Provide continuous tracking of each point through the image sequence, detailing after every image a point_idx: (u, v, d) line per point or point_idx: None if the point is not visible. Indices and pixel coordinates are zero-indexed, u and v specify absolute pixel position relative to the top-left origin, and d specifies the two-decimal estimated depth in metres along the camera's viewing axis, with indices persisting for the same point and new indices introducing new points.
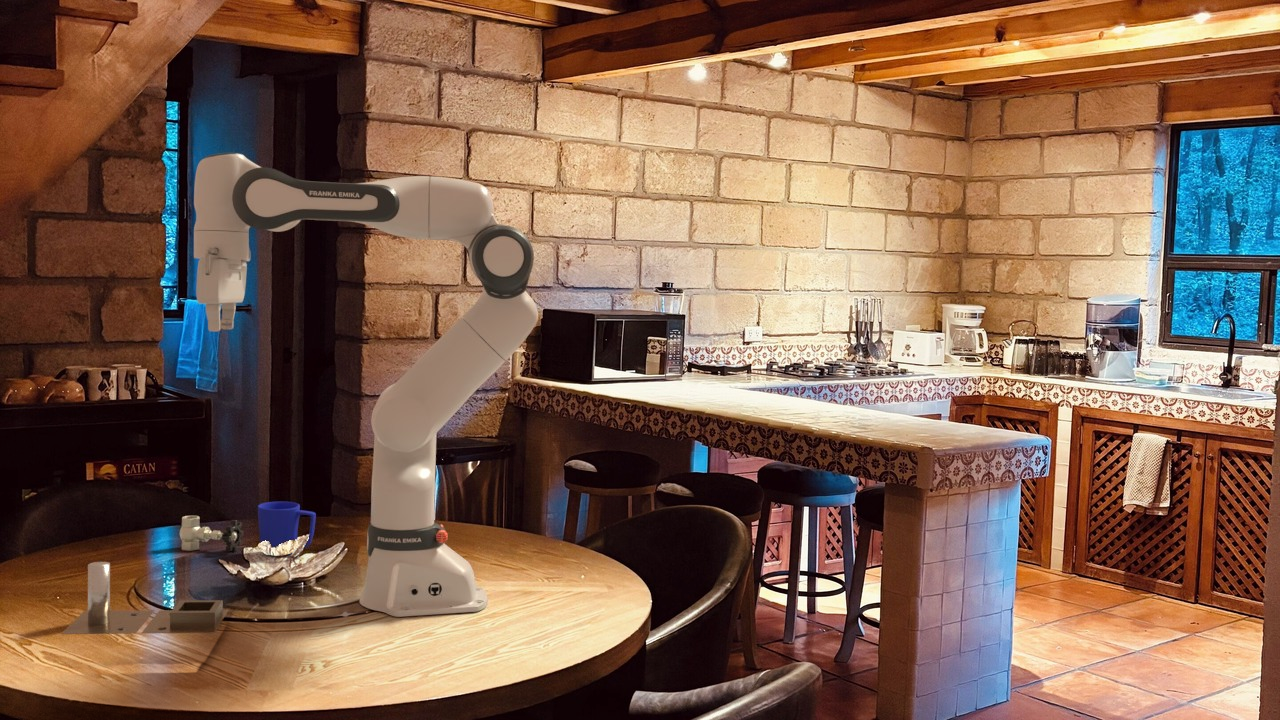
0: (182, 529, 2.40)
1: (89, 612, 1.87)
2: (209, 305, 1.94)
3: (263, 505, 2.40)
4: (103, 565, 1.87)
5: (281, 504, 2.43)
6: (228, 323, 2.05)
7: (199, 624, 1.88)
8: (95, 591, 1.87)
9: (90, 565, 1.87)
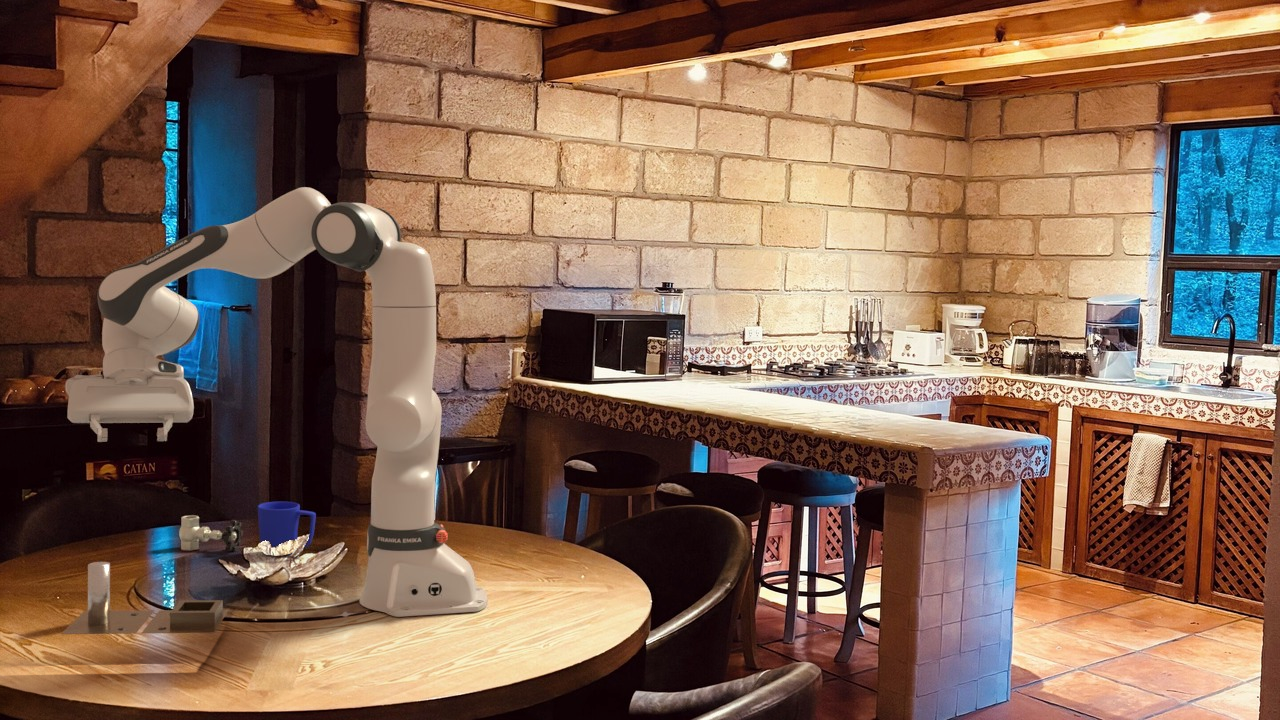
0: (182, 529, 2.40)
1: (89, 612, 1.87)
2: (90, 420, 2.01)
3: (263, 505, 2.40)
4: (103, 565, 1.87)
5: (281, 504, 2.43)
6: (158, 433, 2.04)
7: (199, 624, 1.88)
8: (95, 591, 1.87)
9: (90, 565, 1.87)
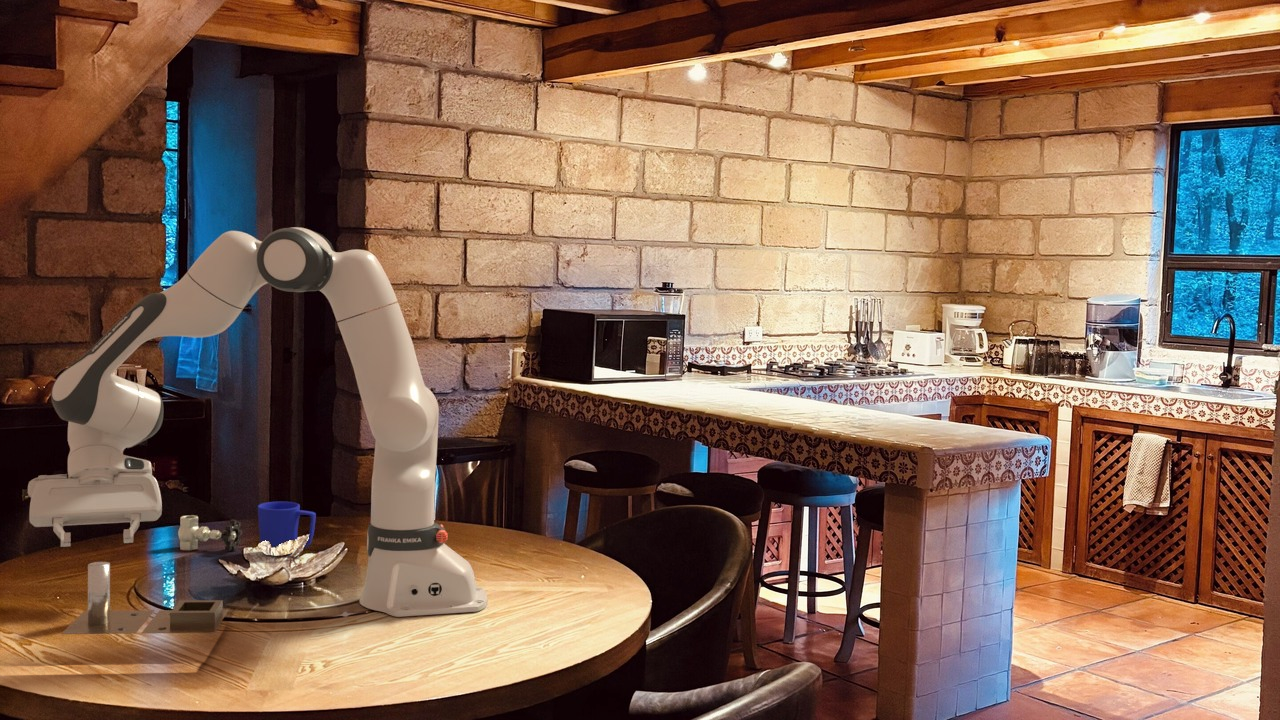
0: (181, 529, 2.40)
1: (89, 612, 1.87)
2: None
3: (263, 505, 2.40)
4: (103, 565, 1.87)
5: (281, 504, 2.43)
6: (124, 534, 1.96)
7: (199, 624, 1.88)
8: (95, 591, 1.87)
9: (90, 565, 1.87)
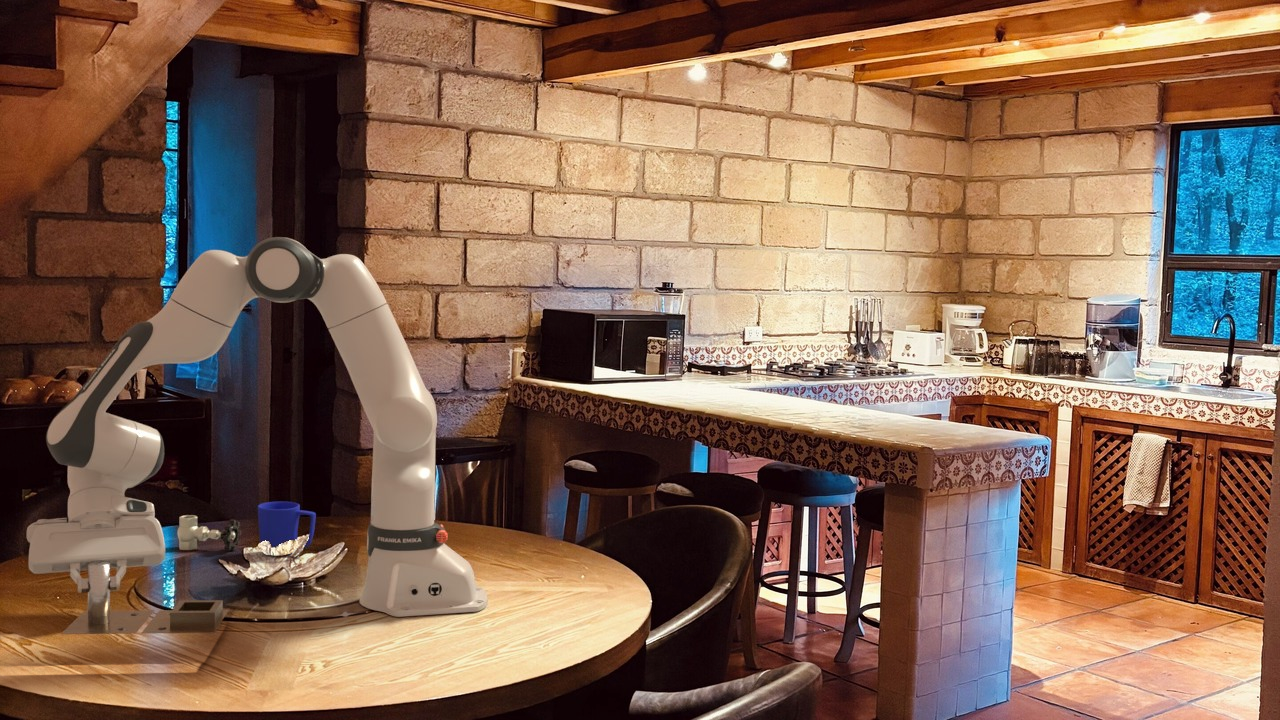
0: (180, 529, 2.40)
1: (89, 612, 1.87)
2: (70, 569, 1.89)
3: (263, 505, 2.40)
4: (103, 565, 1.87)
5: (281, 504, 2.43)
6: (110, 582, 1.89)
7: (199, 624, 1.88)
8: (95, 591, 1.87)
9: (90, 565, 1.87)
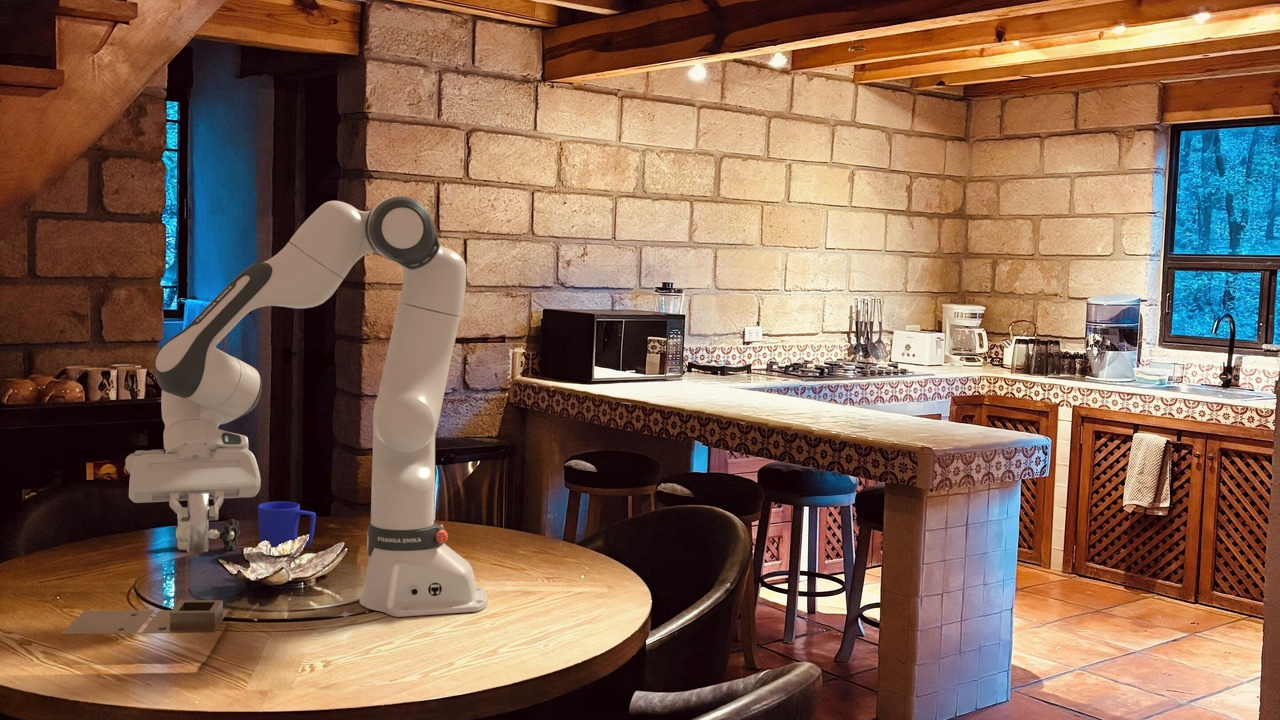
0: (178, 529, 2.40)
1: (189, 541, 1.89)
2: (169, 499, 1.90)
3: (263, 505, 2.40)
4: (202, 494, 1.89)
5: (281, 504, 2.43)
6: None
7: (199, 624, 1.88)
8: (195, 520, 1.88)
9: (190, 493, 1.89)
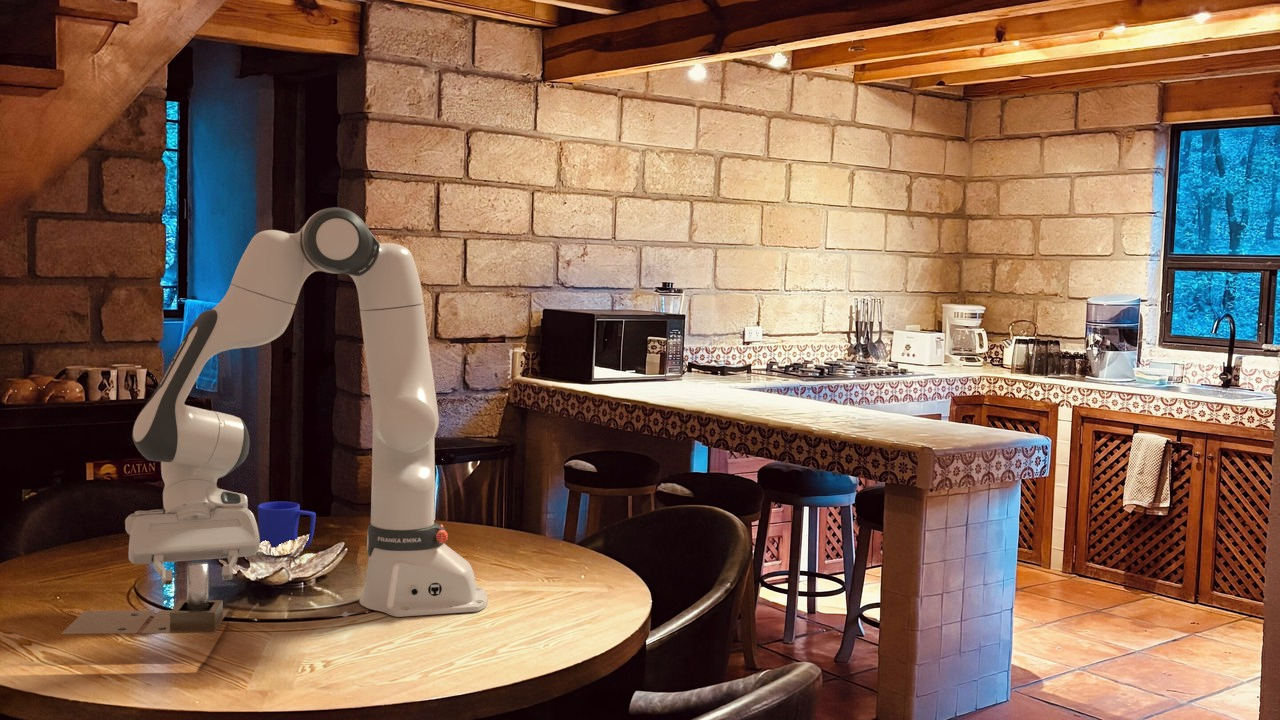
0: None
1: None
2: (153, 561, 1.90)
3: (263, 505, 2.40)
4: (202, 565, 1.90)
5: (281, 504, 2.43)
6: (223, 571, 1.92)
7: (199, 624, 1.88)
8: (194, 590, 1.89)
9: (189, 564, 1.90)
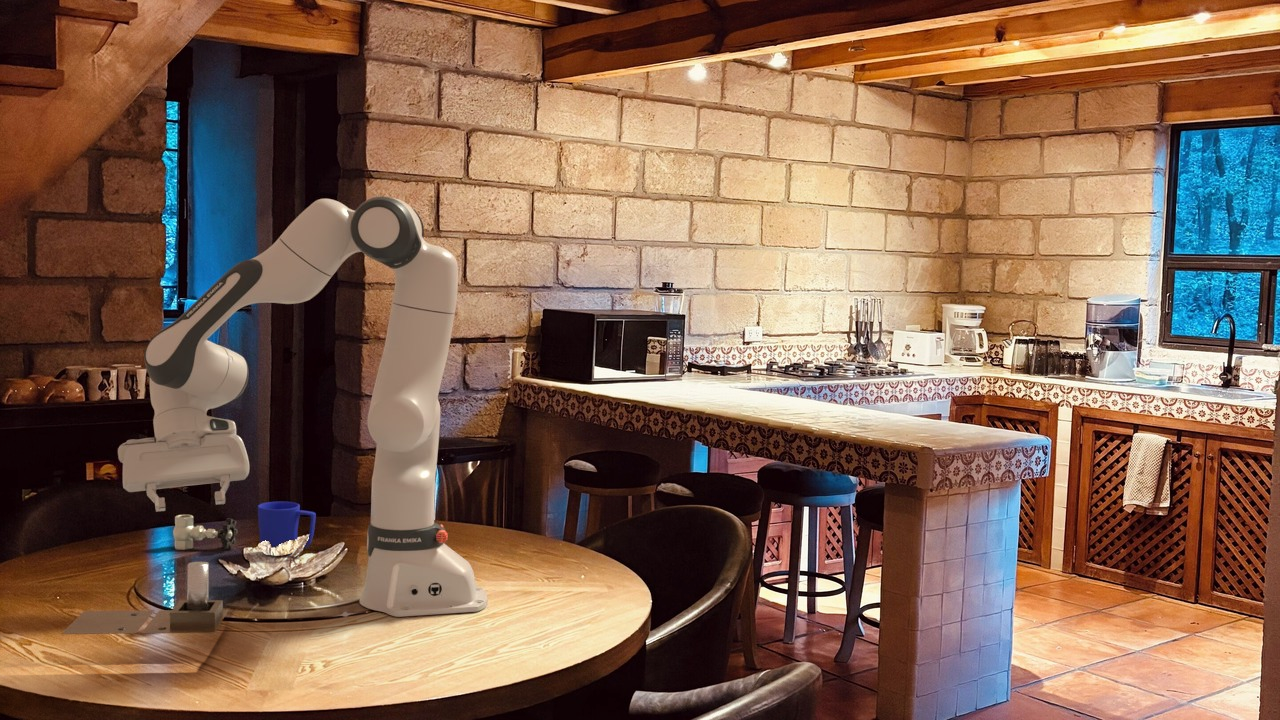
0: (176, 528, 2.40)
1: None
2: (146, 489, 1.97)
3: (263, 505, 2.40)
4: (202, 565, 1.90)
5: (281, 504, 2.43)
6: (215, 496, 1.99)
7: (199, 624, 1.88)
8: (195, 590, 1.89)
9: (190, 564, 1.90)
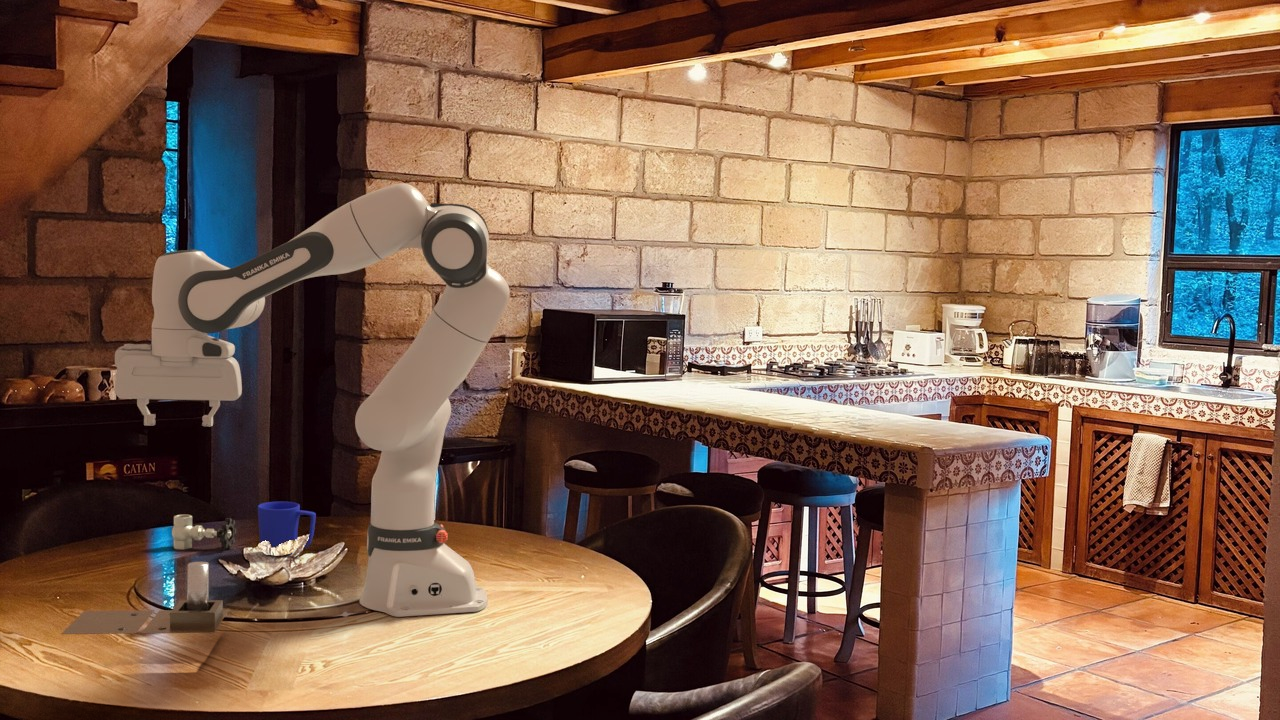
0: (175, 528, 2.40)
1: None
2: None
3: (263, 505, 2.40)
4: (202, 565, 1.90)
5: (281, 504, 2.43)
6: None
7: (199, 624, 1.88)
8: (195, 590, 1.89)
9: (190, 564, 1.90)
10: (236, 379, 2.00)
